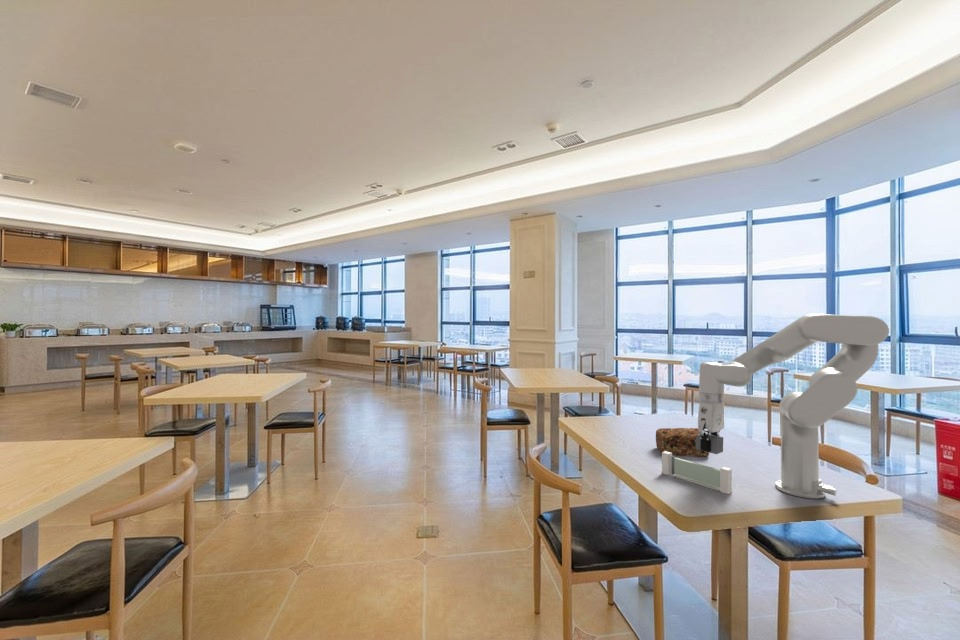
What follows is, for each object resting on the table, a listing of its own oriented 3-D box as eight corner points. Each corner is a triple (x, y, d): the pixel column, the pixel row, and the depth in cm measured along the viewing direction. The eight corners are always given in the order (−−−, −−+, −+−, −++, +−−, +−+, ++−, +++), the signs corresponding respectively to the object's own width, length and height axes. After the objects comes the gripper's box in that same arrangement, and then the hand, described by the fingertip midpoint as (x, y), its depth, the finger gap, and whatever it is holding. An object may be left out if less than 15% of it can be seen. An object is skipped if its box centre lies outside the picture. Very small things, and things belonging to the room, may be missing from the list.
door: (721, 488, 132) (721, 468, 132) (719, 489, 131) (719, 469, 131) (672, 473, 145) (672, 455, 145) (670, 474, 144) (670, 456, 144)
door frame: (731, 492, 130) (731, 468, 130) (728, 494, 128) (728, 470, 128) (665, 471, 147) (665, 451, 147) (662, 473, 146) (662, 452, 146)
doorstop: (722, 451, 141) (723, 437, 141) (716, 454, 138) (716, 439, 138) (702, 446, 147) (702, 432, 147) (695, 448, 144) (695, 434, 144)
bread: (701, 450, 172) (701, 426, 172) (710, 458, 162) (710, 433, 162) (655, 447, 176) (654, 424, 176) (660, 455, 166) (660, 430, 166)
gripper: (710, 402, 134) (709, 457, 134) (733, 397, 144) (731, 448, 144) (687, 398, 140) (686, 450, 140) (711, 393, 150) (709, 442, 150)
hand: (709, 448), depth 142 cm, fingers closed on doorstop, 5 cm apart
